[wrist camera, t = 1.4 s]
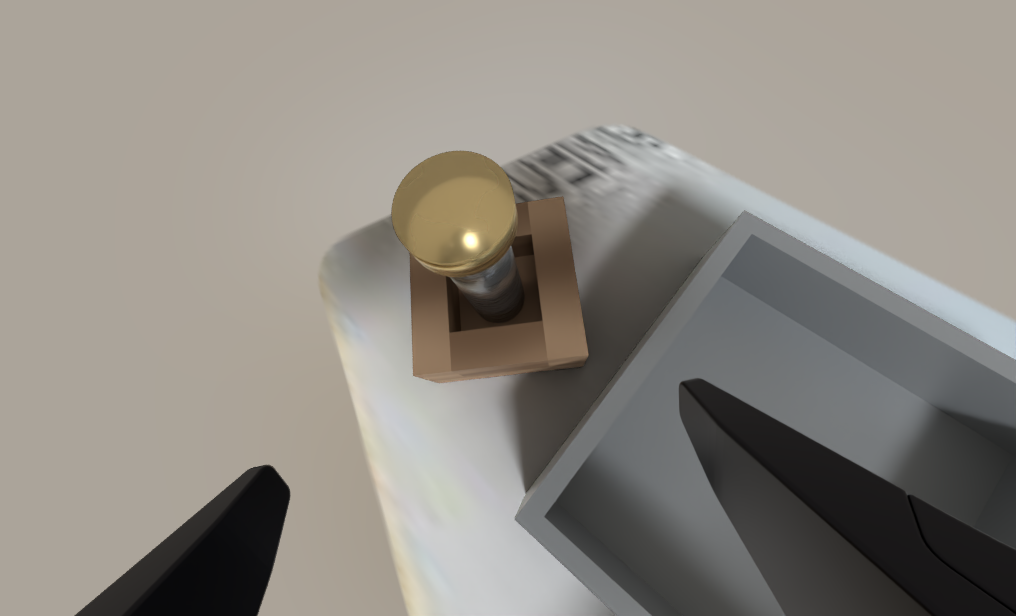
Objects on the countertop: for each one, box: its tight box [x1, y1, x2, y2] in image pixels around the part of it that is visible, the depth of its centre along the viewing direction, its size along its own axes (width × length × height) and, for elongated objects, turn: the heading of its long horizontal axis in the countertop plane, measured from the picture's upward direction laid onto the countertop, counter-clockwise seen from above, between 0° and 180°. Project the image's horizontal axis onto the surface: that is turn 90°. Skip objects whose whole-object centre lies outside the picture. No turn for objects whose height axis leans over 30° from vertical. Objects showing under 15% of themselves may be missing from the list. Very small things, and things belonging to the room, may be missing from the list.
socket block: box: [410, 196, 589, 383], centre depth 20 cm, size 8×8×4 cm
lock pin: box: [392, 151, 525, 323], centre depth 16 cm, size 4×4×10 cm
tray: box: [515, 210, 1016, 616], centre depth 16 cm, size 16×16×5 cm
